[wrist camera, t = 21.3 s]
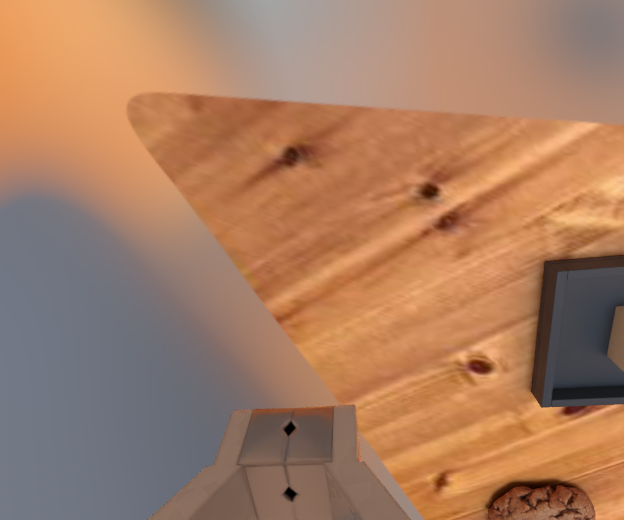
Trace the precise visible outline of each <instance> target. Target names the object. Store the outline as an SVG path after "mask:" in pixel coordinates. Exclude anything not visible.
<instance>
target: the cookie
mask: <svg viewBox="0 0 624 520" xmlns="http://www.w3.org/2000/svg"><path fill="white" fill-rule="evenodd" d="M492 505H493V506H491V507H490V510H488V515H489V518H490V519H491V520H595V510H594V506H593V504H592V502H591V501H590V499H589V498H588V497H587V496H586V494H584V493H583V492H582V491H581V490H580V489H577V488H575V487H574V488H571V487H563V486H562V485H559V486H557V487H556V486H555V487H553V488H551V486H550V485H548V486H546V487H544V488H539V489H535V490H534V489H530V488H528V487H525V486H522V487H514V488H513V489H511V490H510V491H509V492H507V493H506V494H504V496H502V497H500V498H498V499H497V500H496V501H495V502H494V503H493V504H492Z"/></svg>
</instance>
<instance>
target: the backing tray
mask: <svg viewBox="0 0 624 520" xmlns="http://www.w3.org/2000/svg"><path fill="white" fill-rule="evenodd" d="M616 306H624V255H621V256H609V257H596V258H584V259H571V260H559V261H547V262H545V267H544V276H543V286H542V295H541V305H540V314H539V324H538V334H537V343H536V353H535V362H534V372H533V381H532V391H531V392H532V394H533V395H534V397H535V398H536V400H537V401H538V403H539V404H540V406H541V407H564V406H588V405H613V404H624V372H623V371H622V370H621V369H620V368H619V367H618V366H617V365H616V364H615V363H614V362H613V361H612V360H611V359H610V358H609V357H608V356H607V352H608V347H609V341H610V336H611V331H612V325H613V320H614V315H615V309H616Z"/></svg>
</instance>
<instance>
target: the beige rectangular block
mask: <svg viewBox="0 0 624 520" xmlns="http://www.w3.org/2000/svg"><path fill="white" fill-rule="evenodd" d="M607 356H608V357H609V358H610V359H611V360H612V361H613V362H614V363H615V364H616V365H617V366H618V367H619V368H620V369H621V370H622V371H623V372H624V306H616V309H615V315H614V320H613V325H612V331H611V336H610V341H609V347H608V352H607Z"/></svg>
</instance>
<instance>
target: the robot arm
mask: <svg viewBox="0 0 624 520" xmlns="http://www.w3.org/2000/svg"><path fill="white" fill-rule="evenodd" d="M148 520H411V519H410V518H409V517H408V516H407V514H406V513H405V512H404V510H402V508H401V507H400V506H399V504H398V503H397V502H396V501H395V500H394V498H393V497H392V496H391V494H390V493H389V492H388V490H387V489H386V488H385V487H384V486H383V484H382V483H381V482H380V481H379V479H378V478H377V477H376V476H375V474H374V473H373V472H372V471H371V469H370V468H369V467H368V466H367V464H366V463H365V462H361V456H360V445H359V435H358V425H357V415H356V407H355V405H338V406H326V407H307V408H283V409H255V410H235V411H234V412H233V413H232V414H231V416H230V419H229V422H228V425H227V428H226V431H225V433H224V436H223V439H222V442H221V445H220V447H219V450H218V453H217V455H216V458H215V461H214V464H213V466H206V467H205V468H204V469H203V470H202V471H201V472H200V473H199V474H197V475H196V476H195V477H194V478H193V479H192V480H191V481H190V482H189V483H188V484H186V485H185V486H184V487H183V488H182V489H181V490H180V491H179V492H178V493H177V494H175V495H174V496H173V497H172V498H171V499H170V500H169V501H168V502H167V503H166V504H164V505H163V506H162V507H161V508H160V509H159V510H158V511H157V512H156V513H155V514H153V515H152V516H151V517H150V518H149V519H148Z"/></svg>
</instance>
